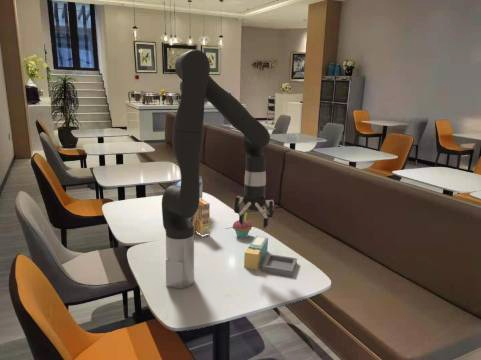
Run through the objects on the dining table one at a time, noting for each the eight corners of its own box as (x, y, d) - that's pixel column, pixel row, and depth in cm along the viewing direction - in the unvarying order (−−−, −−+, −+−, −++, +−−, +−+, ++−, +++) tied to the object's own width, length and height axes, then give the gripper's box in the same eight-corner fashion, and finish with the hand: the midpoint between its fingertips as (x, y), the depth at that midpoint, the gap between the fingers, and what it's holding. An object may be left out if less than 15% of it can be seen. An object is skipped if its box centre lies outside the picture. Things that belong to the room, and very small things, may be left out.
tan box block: (257, 269, 138) (257, 254, 137) (244, 267, 140) (244, 252, 138) (259, 264, 142) (260, 249, 140) (247, 262, 143) (247, 247, 142)
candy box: (210, 235, 168) (210, 202, 164) (201, 237, 165) (201, 204, 161) (200, 229, 175) (200, 197, 171) (192, 231, 172) (192, 199, 169)
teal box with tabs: (260, 264, 142) (260, 248, 141) (247, 261, 144) (248, 247, 142) (267, 251, 154) (268, 237, 152) (255, 249, 155) (256, 235, 153)
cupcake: (254, 234, 170) (255, 209, 167) (245, 241, 163) (246, 214, 160) (238, 230, 174) (239, 206, 171) (228, 236, 167) (229, 211, 164)
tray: (291, 276, 134) (292, 271, 133) (261, 271, 137) (262, 266, 136) (296, 263, 144) (296, 258, 143) (268, 258, 147) (268, 253, 146)
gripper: (232, 183, 131) (231, 226, 135) (272, 187, 127) (270, 232, 131) (238, 178, 138) (237, 219, 142) (277, 182, 134) (274, 224, 138)
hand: (253, 225), depth 137 cm, fingers open, 8 cm apart
